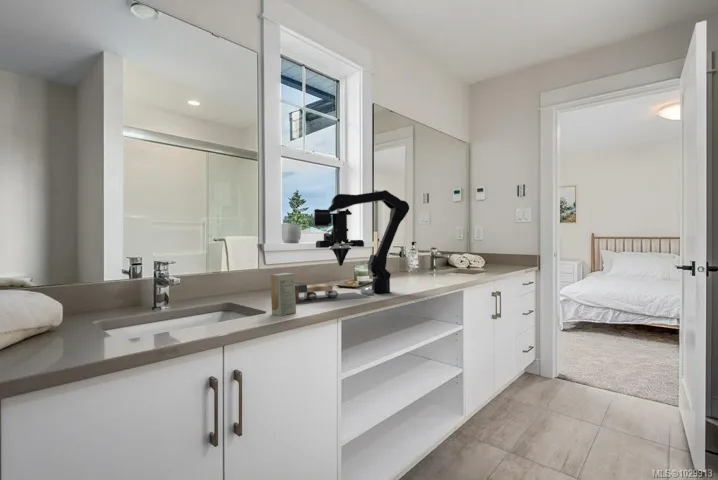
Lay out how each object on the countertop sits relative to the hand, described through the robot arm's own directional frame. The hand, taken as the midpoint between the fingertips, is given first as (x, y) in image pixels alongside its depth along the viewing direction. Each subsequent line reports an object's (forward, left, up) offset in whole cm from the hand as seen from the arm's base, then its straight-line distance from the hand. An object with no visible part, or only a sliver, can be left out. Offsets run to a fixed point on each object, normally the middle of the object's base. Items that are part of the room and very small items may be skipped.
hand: (340, 265), depth 148 cm
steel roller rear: (-10, +5, -9) cm, 14 cm away
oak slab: (+12, +5, -8) cm, 15 cm away
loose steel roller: (+15, +5, -12) cm, 19 cm away
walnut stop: (+20, +5, -12) cm, 24 cm away
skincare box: (+29, +25, -12) cm, 40 cm away
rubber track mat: (+8, +5, -12) cm, 15 cm away
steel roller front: (+7, +5, -9) cm, 12 cm away
